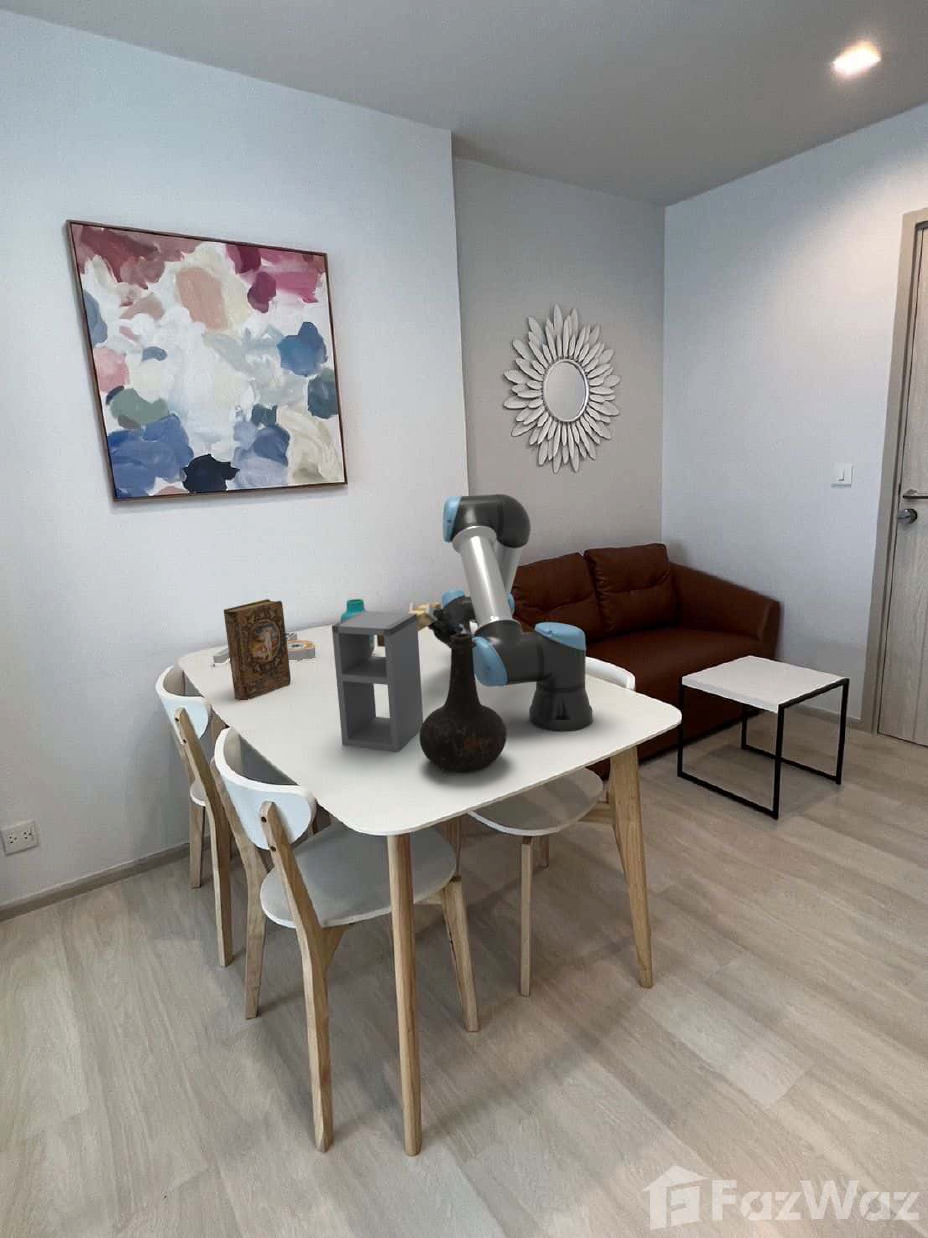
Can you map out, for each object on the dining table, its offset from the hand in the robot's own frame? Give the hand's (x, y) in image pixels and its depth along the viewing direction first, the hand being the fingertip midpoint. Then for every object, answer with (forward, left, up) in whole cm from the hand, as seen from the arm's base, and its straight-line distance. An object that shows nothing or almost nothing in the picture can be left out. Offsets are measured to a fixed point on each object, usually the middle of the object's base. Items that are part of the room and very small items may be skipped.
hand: (419, 608), depth 174 cm
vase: (+45, -6, -25) cm, 51 cm away
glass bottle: (-38, +16, -25) cm, 49 cm away
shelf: (-14, +21, -25) cm, 36 cm away
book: (+37, +30, -25) cm, 54 cm away
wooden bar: (-3, +5, -5) cm, 7 cm away
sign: (+69, +12, -25) cm, 74 cm away
